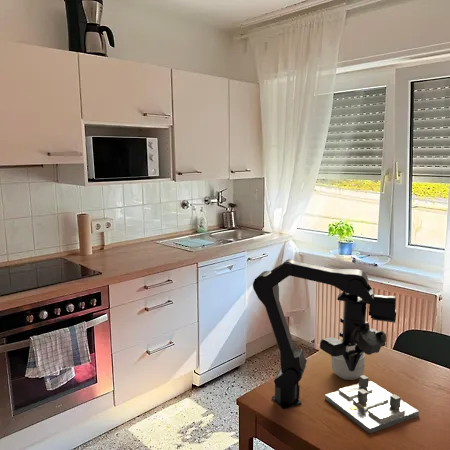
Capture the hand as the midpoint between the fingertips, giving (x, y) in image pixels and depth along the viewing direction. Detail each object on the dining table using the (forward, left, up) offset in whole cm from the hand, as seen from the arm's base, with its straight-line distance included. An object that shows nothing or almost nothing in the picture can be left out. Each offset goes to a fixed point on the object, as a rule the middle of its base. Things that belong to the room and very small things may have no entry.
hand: (351, 370), depth 116 cm
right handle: (+10, -6, -10) cm, 16 cm away
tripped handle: (+4, 0, -10) cm, 11 cm away
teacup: (+15, +18, -13) cm, 27 cm away
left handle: (+10, +6, -10) cm, 16 cm away
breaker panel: (+7, 0, -13) cm, 15 cm away
